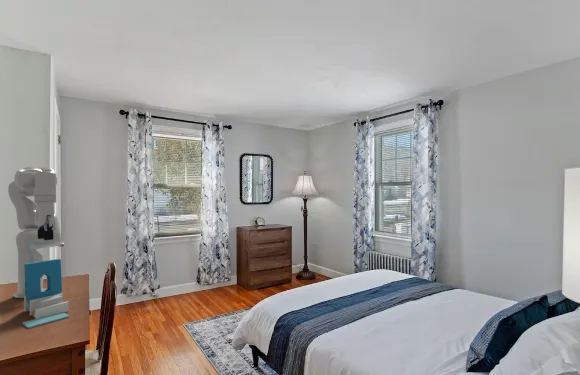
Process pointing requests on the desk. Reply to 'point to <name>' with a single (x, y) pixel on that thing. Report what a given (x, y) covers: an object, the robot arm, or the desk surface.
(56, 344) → the desk surface
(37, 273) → the block
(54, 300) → the upper offcut
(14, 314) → the desk surface
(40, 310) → the rack
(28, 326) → the mat
